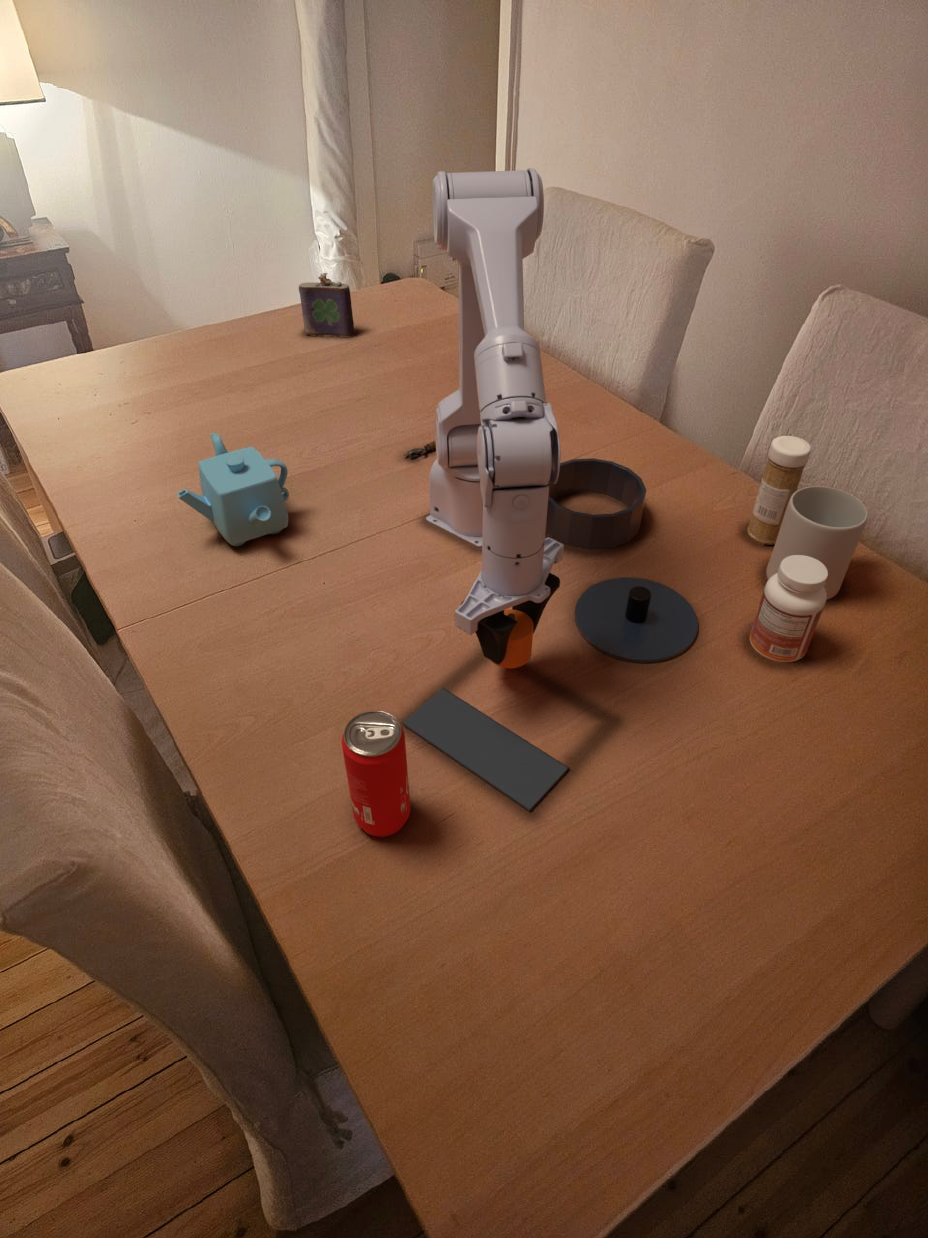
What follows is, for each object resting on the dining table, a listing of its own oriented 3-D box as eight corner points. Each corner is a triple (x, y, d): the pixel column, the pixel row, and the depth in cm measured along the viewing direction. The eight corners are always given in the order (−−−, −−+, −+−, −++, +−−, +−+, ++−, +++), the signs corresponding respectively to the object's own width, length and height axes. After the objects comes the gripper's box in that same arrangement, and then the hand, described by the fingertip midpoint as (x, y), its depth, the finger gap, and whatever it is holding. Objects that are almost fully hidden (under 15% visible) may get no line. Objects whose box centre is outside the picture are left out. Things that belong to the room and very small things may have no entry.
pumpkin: (478, 654, 85) (478, 617, 81) (505, 631, 87) (507, 594, 84) (513, 675, 83) (515, 638, 79) (540, 650, 85) (543, 613, 82)
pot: (518, 525, 108) (520, 489, 104) (575, 482, 115) (579, 447, 111) (603, 566, 101) (608, 530, 98) (658, 517, 109) (665, 482, 105)
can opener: (452, 437, 123) (452, 430, 123) (461, 444, 122) (461, 437, 121) (400, 455, 120) (400, 448, 119) (408, 462, 118) (408, 455, 118)
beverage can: (354, 794, 77) (341, 710, 69) (410, 790, 77) (403, 706, 69) (353, 843, 73) (339, 760, 65) (412, 838, 73) (405, 755, 65)
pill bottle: (779, 620, 94) (806, 543, 86) (818, 654, 90) (850, 577, 82) (736, 636, 92) (760, 559, 85) (774, 672, 88) (802, 595, 80)
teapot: (320, 545, 104) (310, 478, 98) (213, 582, 99) (194, 514, 92) (269, 478, 116) (256, 413, 109) (170, 508, 111) (151, 442, 104)
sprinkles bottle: (789, 538, 105) (820, 446, 96) (765, 550, 103) (794, 458, 94) (762, 520, 108) (789, 430, 99) (738, 532, 106) (763, 440, 97)
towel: (402, 725, 83) (402, 722, 83) (489, 649, 91) (489, 647, 90) (529, 812, 75) (529, 809, 75) (612, 721, 83) (613, 719, 83)
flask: (303, 335, 150) (295, 276, 143) (307, 329, 152) (299, 269, 145) (353, 338, 149) (347, 278, 142) (356, 331, 152) (351, 272, 144)
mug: (807, 614, 95) (836, 538, 87) (750, 575, 100) (773, 500, 92) (872, 577, 100) (905, 502, 92) (814, 541, 105) (841, 467, 97)
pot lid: (550, 628, 93) (552, 598, 90) (615, 569, 101) (620, 539, 98) (656, 686, 87) (663, 655, 83) (718, 618, 94) (726, 588, 91)
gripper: (498, 597, 69) (494, 704, 78) (594, 519, 77) (580, 624, 86) (436, 563, 72) (439, 670, 82) (534, 492, 81) (527, 596, 90)
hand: (508, 644), depth 84 cm, fingers closed on pumpkin, 4 cm apart
